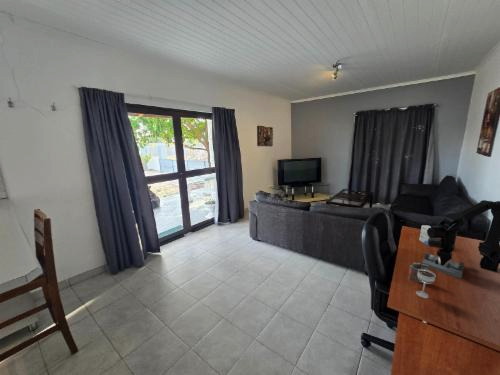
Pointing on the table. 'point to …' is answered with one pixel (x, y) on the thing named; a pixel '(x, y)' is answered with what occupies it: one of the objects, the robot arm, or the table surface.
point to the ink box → (424, 234)
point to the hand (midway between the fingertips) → (443, 262)
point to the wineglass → (425, 280)
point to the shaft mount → (454, 269)
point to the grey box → (416, 271)
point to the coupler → (440, 263)
